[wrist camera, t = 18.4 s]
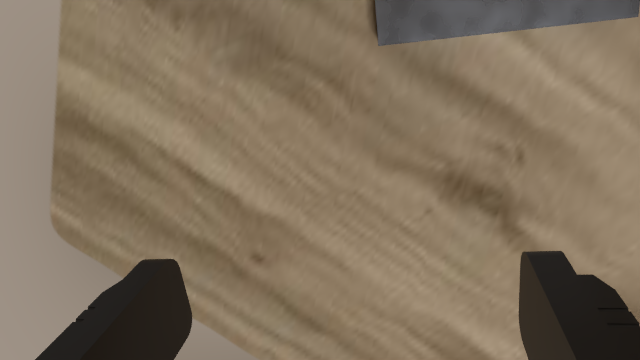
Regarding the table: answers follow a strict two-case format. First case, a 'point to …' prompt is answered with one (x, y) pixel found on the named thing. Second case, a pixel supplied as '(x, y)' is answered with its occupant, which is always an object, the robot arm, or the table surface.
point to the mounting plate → (487, 16)
